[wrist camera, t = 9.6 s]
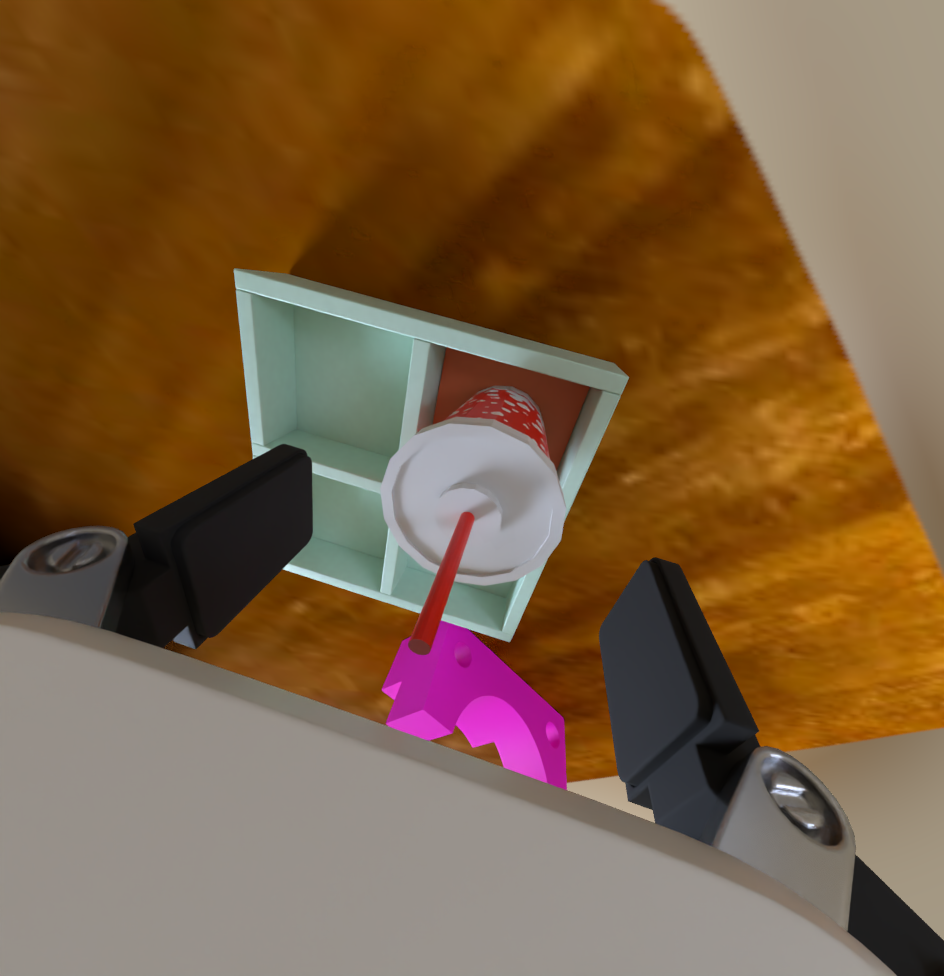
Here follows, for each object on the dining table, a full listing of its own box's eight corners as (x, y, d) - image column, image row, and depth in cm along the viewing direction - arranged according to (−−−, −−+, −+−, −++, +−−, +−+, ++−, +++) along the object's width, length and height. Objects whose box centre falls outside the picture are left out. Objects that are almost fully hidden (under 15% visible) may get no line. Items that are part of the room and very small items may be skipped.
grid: (286, 273, 18) (232, 267, 15) (615, 363, 17) (629, 376, 14) (296, 533, 27) (263, 563, 24) (514, 602, 26) (510, 643, 23)
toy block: (402, 640, 31) (363, 731, 24) (452, 614, 28) (423, 709, 21) (510, 733, 34) (501, 834, 28) (563, 718, 31) (568, 826, 25)
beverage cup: (522, 345, 17) (459, 453, 5) (578, 448, 19) (633, 715, 7) (426, 407, 19) (221, 584, 7) (483, 493, 21) (397, 749, 9)
